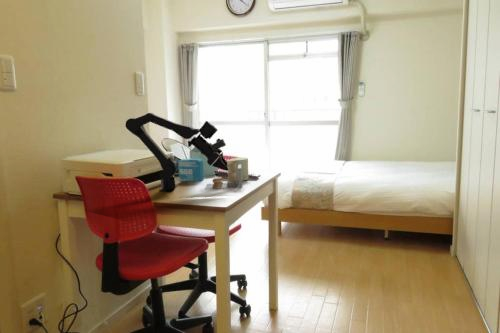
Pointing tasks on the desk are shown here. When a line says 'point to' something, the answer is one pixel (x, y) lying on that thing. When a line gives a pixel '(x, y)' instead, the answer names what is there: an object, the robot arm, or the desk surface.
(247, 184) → the desk surface
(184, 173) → the data package
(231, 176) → the birch strip
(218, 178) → the offcut stack
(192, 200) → the desk surface
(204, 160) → the grey-green peaked box
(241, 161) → the can
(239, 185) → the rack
